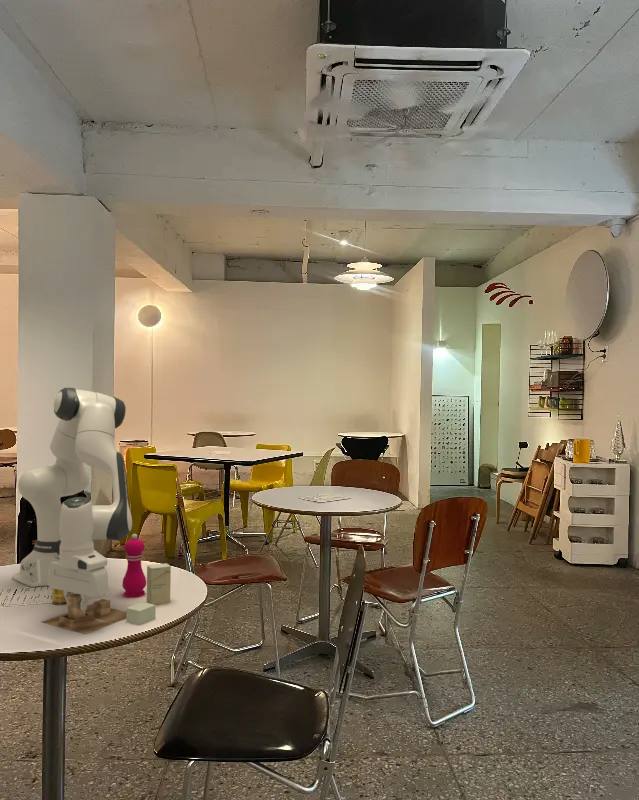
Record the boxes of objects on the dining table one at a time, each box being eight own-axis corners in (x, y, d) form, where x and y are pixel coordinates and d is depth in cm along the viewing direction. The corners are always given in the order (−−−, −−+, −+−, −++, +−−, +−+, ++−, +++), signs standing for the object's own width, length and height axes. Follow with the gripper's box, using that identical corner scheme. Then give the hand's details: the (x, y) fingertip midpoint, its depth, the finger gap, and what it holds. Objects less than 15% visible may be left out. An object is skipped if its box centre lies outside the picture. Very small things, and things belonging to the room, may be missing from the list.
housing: (126, 625, 182) (126, 608, 182) (142, 618, 187) (142, 602, 187) (139, 628, 179) (139, 611, 179) (155, 622, 185) (155, 604, 185)
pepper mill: (139, 602, 202) (139, 536, 202) (118, 600, 203) (118, 535, 203) (150, 594, 209) (150, 531, 209) (129, 593, 211) (129, 530, 210)
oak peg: (67, 617, 180) (67, 595, 180) (77, 614, 183) (77, 592, 183) (75, 619, 179) (75, 597, 178) (85, 616, 181) (85, 594, 181)
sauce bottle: (53, 609, 195) (53, 542, 194) (50, 603, 200) (50, 538, 200) (76, 606, 198) (76, 540, 197) (73, 600, 203) (73, 536, 203)
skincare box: (150, 609, 195) (150, 568, 195) (146, 605, 199) (146, 565, 199) (171, 606, 198) (171, 565, 198) (166, 602, 202) (166, 562, 202)
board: (40, 625, 181) (40, 609, 181) (92, 607, 197) (92, 592, 197) (85, 638, 172) (85, 620, 172) (136, 617, 188) (136, 601, 188)
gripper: (41, 555, 183) (41, 605, 183) (93, 565, 173) (93, 618, 173) (60, 550, 188) (60, 599, 189) (111, 560, 178) (111, 611, 179)
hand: (76, 608), depth 181 cm, fingers closed on oak peg, 3 cm apart
